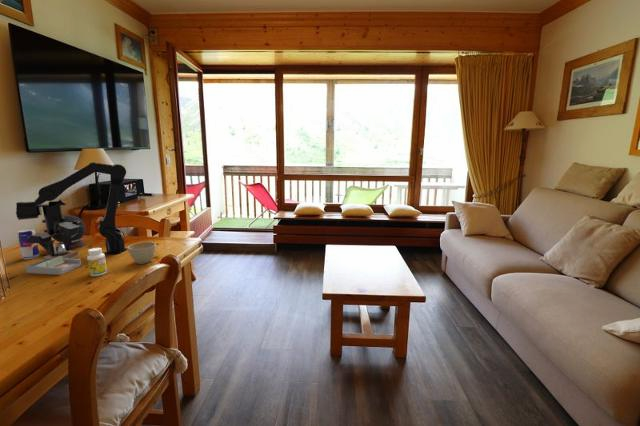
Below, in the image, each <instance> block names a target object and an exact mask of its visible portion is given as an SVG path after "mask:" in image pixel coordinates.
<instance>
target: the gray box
mask: <svg viewBox="0 0 640 426" xmlns="http://www.w3.org/2000/svg"><path fill="white" fill-rule="evenodd" d="M52 259H55V258H46V259H44V260H43V259H40V260H38V261H36V262H33V263H31V264H28V265H25V266H24V268H25V272H26V274H37V275H57V276H58V275H59V276H60V275H63V274H65V273H67V272H70V271H72V270H74V269H76V268H78V267H81V266H82V260H81V259H80V258H75V259H67V258H63V261H65V263H62V264H60V265H57V266H55V267H44V266H35V265H38V264H41V263H43V262H46V261H48V260H52Z"/></svg>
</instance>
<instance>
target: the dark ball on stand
mask: <svg viewBox="0 0 640 426" xmlns="http://www.w3.org/2000/svg"><path fill="white" fill-rule="evenodd" d="M63 218H66V219H67V222H69V223H70V222H72V223H73V222H74V221H80V223H81V226H82V231H79V232H78V234H76V235H75V236H74V237H73V239H72V242H71V246H70V250H69V251H73V250H76V249H80V248H83V247H85V246H86V245H87V243H86V241H85V240H83V239H82V238H83V237H85V234H86V231H87V227H86V224H85V222H84V221H83V220H82V219H81V218H80V217H78V216H76V215H73V214H72V215H71V214H70V215H69V214H67V215H63ZM51 238H52V240H55V242H57V243H58V244H61V243H63V241H62V238H61V236H60V235H57V236H54V237H51ZM65 249H66V248H65Z"/></svg>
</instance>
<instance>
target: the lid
mask: <svg viewBox="0 0 640 426" xmlns="http://www.w3.org/2000/svg"><path fill="white" fill-rule="evenodd" d="M62 263H65V261H63V258H62V256H60V257H57V258H55V259H52V260H48V261H46V262H43V263H41V264H38V265H35V266H44V267H55V266H57V265H60V264H62Z"/></svg>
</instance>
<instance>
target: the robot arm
mask: <svg viewBox="0 0 640 426" xmlns="http://www.w3.org/2000/svg"><path fill="white" fill-rule="evenodd" d="M94 173H100V174H104V175H110V176H109V177H110V178H109V179H110V186H109V193H108V198H107V204H106V208H105V209H106V210H105V214H104V217H103V218H102V217H99V225H98V227H97V230H98V231H99V234H100V236H102V237H103V238H105V242H104V243H105V250H106V251H104V254H112V255H113V254H115V255H118V254H120V253H123V252H125V251H127V250H128V247H126V246H125V238H124V237H123V233H122V232H123V231H122V230H121V229H119V228H118V227H116V213H117V208H118V203H119V198H120V197H119V196H120V190H121V187H122V184H123V182H124V179H125V178H126V175H127V169H126V168H125V166H124V165H123V164H120V163H115V164H113V165H112V164H107V163H99V162H96V161H92V162H90V163H88V165H85V166H84V167H82V168H80V169H79V170H77V171H74V172H73V173H72V174H70V175H68V176H66V177H65V178H63V179H60V180H57V181H55V182H52V183H49V184H47V185H46V184H45V186H42V187H41V188H39V190H38V193H37V195H38V197H37V198H35V200H34V201H17V202H15V204H16V205H15V206H16V207H15V208H16V211H15V215H16V218H17V220H19V221H20V220H30V219H31V220H32V219H39V218H40V216H43V218H44V219H42V220H41V222H42V223H44V224H45V227H46V229H44V230H43V231H44V233H40V232H39V233H35V234H34V235H31V236H29V237H28V242H29V243H37V244H38V245H39V246H41V247H42V248H43V249H44V250H45V251H46V252H47V254H48V255H51V256H54V253H55V251H54V243H55V242H56V240H54V239H53V238H52V237H54V236H57V235H60V236H61V238H62V241H63V243H64V244H65V248H66V251H71V250H70V246H71V242H72V239H73V237H74V236H75V235H76V234H78V232H79V231H82V226H81V223H80V221H74V222H73V223H72V222H70V223H69V222H67V219H66V218H63V216H64V215H63V210H62V206H66V205H67V201H64V200H63V199H62V198H60V199H58V200H56V199H57V198H58V197H59V196H61V195H62V194H63V193H65V191H66V190H67V189H68V188H71V187H72V186H73V185H76V184H77V183H79V182H81V181H82V180H84V179H86V178H87V177H90V176H91V175H93V174H94ZM46 202H48V203H46Z"/></svg>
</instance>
